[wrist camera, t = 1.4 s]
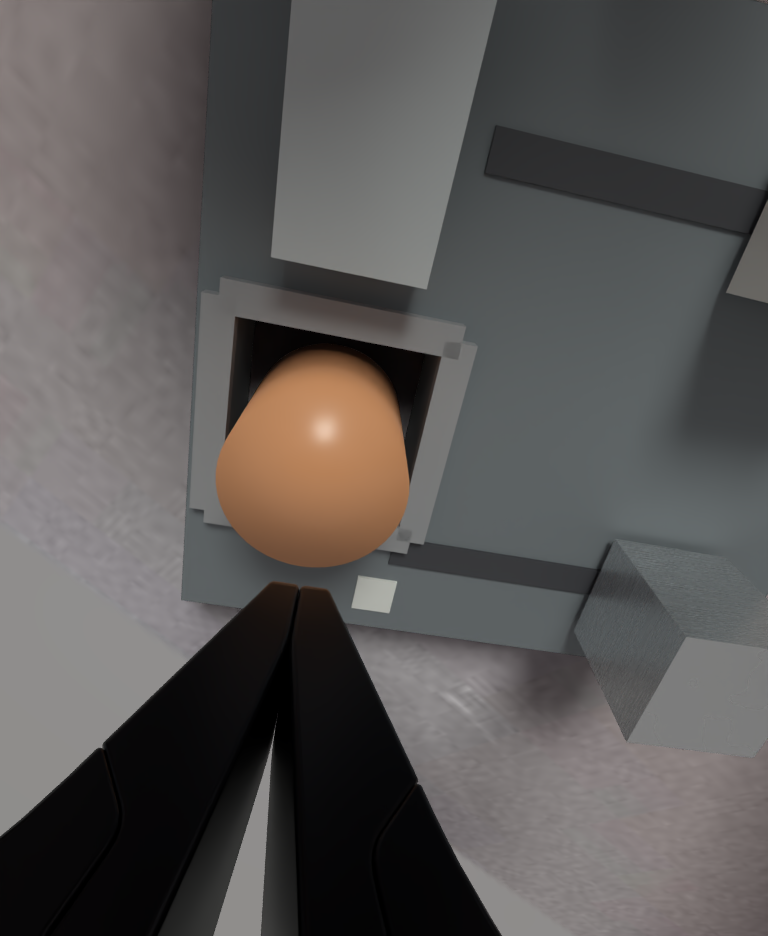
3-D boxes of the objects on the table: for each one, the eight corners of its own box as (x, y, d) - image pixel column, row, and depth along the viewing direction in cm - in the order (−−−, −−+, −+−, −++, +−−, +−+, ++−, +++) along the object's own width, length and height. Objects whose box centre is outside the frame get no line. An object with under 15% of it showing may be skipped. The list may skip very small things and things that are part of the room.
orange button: (413, 359, 15) (429, 416, 11) (384, 488, 16) (388, 579, 12) (264, 330, 14) (222, 378, 10) (249, 465, 16) (209, 552, 12)
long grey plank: (501, -62, 9) (516, -82, 8) (423, 270, 12) (426, 289, 11) (314, -113, 9) (302, -143, 8) (282, 240, 12) (270, 256, 11)
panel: (965, 110, 14) (1120, 86, 11) (679, 624, 21) (728, 691, 18) (248, -84, 12) (209, -176, 9) (203, 553, 19) (173, 615, 16)
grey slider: (725, 557, 16) (825, 657, 13) (675, 645, 18) (753, 758, 14) (615, 538, 16) (686, 636, 12) (573, 630, 17) (626, 741, 14)
